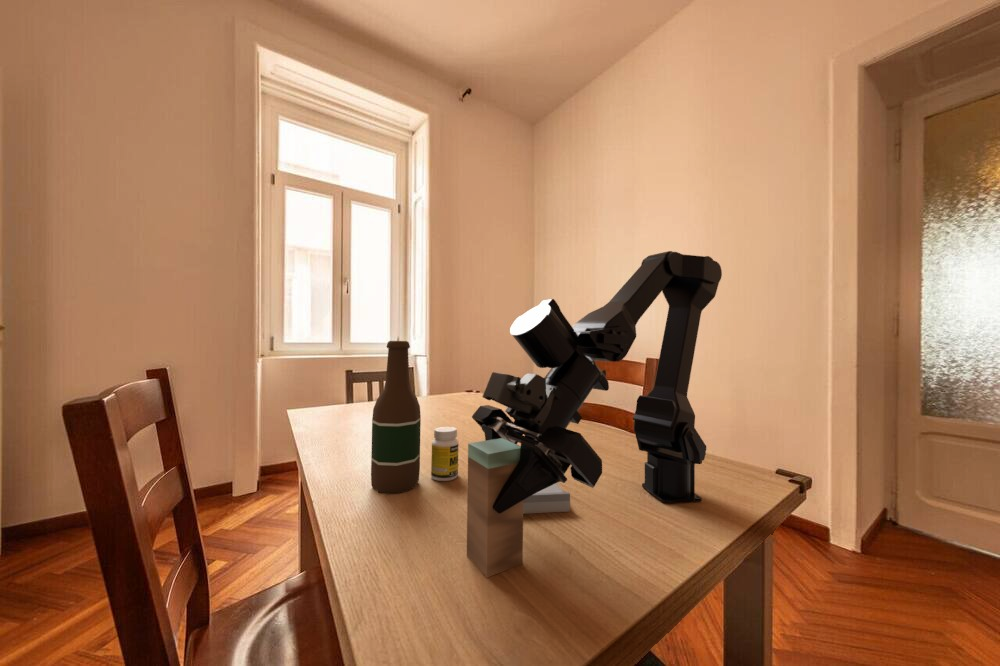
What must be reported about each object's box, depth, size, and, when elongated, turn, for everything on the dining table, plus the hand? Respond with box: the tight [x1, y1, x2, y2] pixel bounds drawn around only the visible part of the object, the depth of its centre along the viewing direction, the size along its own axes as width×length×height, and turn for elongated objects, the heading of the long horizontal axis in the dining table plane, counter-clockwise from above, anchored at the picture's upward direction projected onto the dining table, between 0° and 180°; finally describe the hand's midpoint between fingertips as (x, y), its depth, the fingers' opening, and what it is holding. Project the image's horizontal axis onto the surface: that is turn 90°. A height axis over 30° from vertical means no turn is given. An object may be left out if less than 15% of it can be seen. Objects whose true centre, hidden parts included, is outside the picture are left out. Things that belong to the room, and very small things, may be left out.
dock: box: [523, 483, 571, 515], centre depth 55 cm, size 12×9×2 cm
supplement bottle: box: [430, 426, 460, 482], centre depth 64 cm, size 5×5×8 cm
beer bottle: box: [370, 340, 422, 495], centre depth 60 cm, size 8×8×24 cm
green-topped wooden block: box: [466, 438, 524, 578], centre depth 40 cm, size 4×4×12 cm
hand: (484, 501), depth 39 cm, fingers closed on green-topped wooden block, 4 cm apart
